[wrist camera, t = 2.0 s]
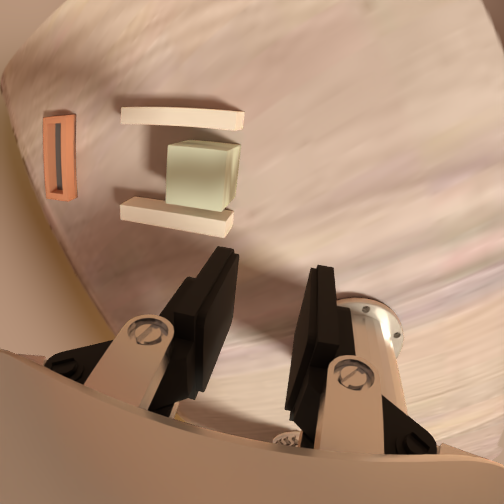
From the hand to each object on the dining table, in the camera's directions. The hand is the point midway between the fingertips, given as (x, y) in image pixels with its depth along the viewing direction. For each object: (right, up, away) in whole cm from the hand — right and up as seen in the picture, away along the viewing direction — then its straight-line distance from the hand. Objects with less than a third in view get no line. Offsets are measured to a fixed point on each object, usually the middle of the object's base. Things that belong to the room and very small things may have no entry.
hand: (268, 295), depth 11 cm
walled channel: (-7, +10, +18) cm, 22 cm away
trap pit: (-23, +13, +20) cm, 33 cm away
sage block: (-4, +10, +18) cm, 21 cm away
